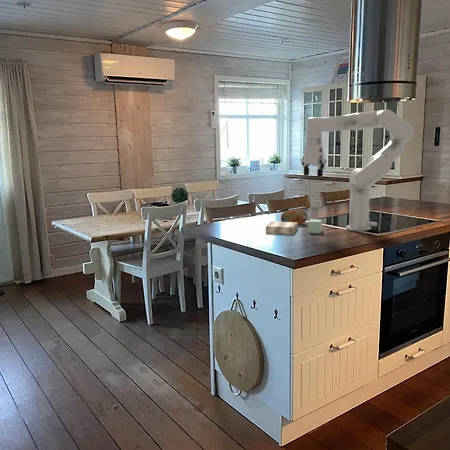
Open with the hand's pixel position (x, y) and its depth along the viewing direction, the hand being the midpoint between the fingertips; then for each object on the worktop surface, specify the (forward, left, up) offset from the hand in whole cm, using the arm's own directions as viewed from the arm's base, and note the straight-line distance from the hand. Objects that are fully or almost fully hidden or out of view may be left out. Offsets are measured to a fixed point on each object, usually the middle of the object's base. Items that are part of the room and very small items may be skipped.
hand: (313, 175), depth 241 cm
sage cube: (-2, +6, -28) cm, 29 cm away
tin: (+12, -11, -29) cm, 33 cm away
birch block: (+15, +7, -29) cm, 33 cm away
